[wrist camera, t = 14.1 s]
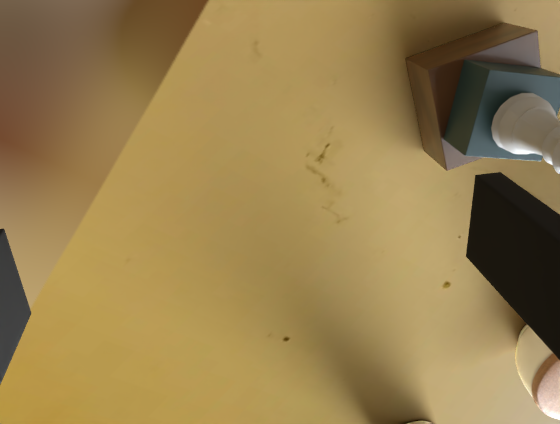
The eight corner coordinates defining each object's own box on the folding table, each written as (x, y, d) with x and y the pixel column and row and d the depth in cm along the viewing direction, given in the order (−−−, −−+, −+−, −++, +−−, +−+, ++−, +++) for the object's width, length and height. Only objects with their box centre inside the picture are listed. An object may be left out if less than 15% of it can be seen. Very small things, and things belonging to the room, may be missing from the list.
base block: (405, 58, 46) (428, 70, 42) (504, 22, 46) (537, 30, 41) (424, 151, 50) (446, 170, 46) (515, 118, 50) (546, 135, 46)
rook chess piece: (476, 128, 40) (537, 167, 33) (519, 78, 39) (593, 108, 32) (513, 159, 42) (580, 203, 34) (556, 113, 40) (634, 148, 33)
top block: (464, 59, 42) (489, 69, 38) (538, 67, 43) (570, 78, 39) (443, 139, 44) (465, 156, 41) (513, 144, 46) (541, 161, 42)
